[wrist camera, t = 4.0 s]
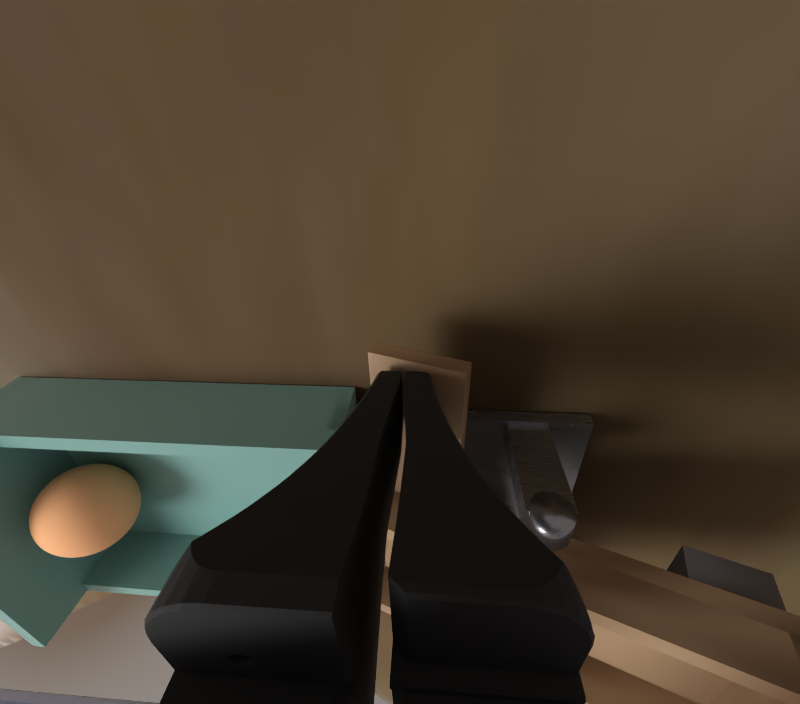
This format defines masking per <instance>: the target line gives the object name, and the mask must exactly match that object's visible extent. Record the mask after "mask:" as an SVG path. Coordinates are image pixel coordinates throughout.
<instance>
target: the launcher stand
mask: <svg viewBox="0 0 800 704" xmlns="http://www.w3.org/2000/svg"><path fill="white" fill-rule="evenodd" d="M593 426H594V423H593V421H592V419H591V417H590V415H589V414H573V413H544V412H516V411H487V410H468V413H467V424H466V435H465V447H464V451H465V452H466V454H467V455H468V457H469V458H470V460H471V461H472V463H473V464H474V465H475V467H476V468H477V470H478V471H479V472H480V474H481V475H482V476H483V478H484V479H485V480H486V482H487V483H488V484H489V485H490V486H491V488H492V489H493V490H494V491H495V492H496V493H497V495H498V496H499V497H500V498H501V499H502V500H503V502H504V503H505V504H506V505H507V506H508V508H509V509H510V510H511V511H512V512H513V513H514V514H515V515H516V516H517V517H518V518H519V519H520V520H521V521H522V523H523V524H524V525H525V526H526V527H527V528H528V529H529V530H530V531H531V532H532V533H533V534H534V535H535V536H536V537H537V538H538V539H539V540H540V541H541V542H543V543H544V544H545V545H546V546H547V547H548V548H549V549H550V550H561V549H563V548H565V547H566V546H567V545H568V544H569V542H570V539H571V536H572V534H573V531H574V528H575V525H576V522H577V518H578V515H579V512H578V509H577V506H576V503H575V501H574V498H573V495H572V490H573V487H574V484H575V481H576V478H577V475H578V472H579V469H580V466H581V463H582V460H583V457H584V454H585V451H586V447H587V444H588V441H589V438H590V435H591V432H592V429H593Z"/></svg>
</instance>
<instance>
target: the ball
mask: <svg viewBox="0 0 800 704" xmlns="http://www.w3.org/2000/svg"><path fill="white" fill-rule="evenodd" d="M140 507H141V492H140V488H139V486H138V484H137V482H136V480H135V479H134V478H133V477H132V476H131V475H130V474H129V473H128V472H127V471H125V470H123V469H121V468H119V467H117V466H114V465H109V464H88V465H83V466H79V467H76V468H73V469H71V470H68V471H66V472H64V473H62V474H61V475H59V476H57V477H56V478H55V479H53V480H52V481H51V482H49V483H48V484H47V485H46V486H45V487H44V488H43V489H42V491H41V492H40V493H39V494H38V496H37V498H36V499H35V501H34V503H33V505H32V508H31V510H30V515H29V529H30V533H31V536H32V538H33V539H34V541H35V543H36V544H37V545H38V546H39V547H40V548H41V549H43V550H44V551H46V552H48V553H50V554H53V555H56V556H60V557H67V558H76V557H84V556H88V555H92V554H95V553H97V552H100V551H102V550H104V549H106V548H108V547H110V546H111V545H113V544H114V543H116V542H117V541H118V540H120V539H121V538H122V537H123V536H124V535H125V534H126V533H127V532H128V531H129V529H130V528H131V527H132V525H133V524H134V522H135V520H136V518H137V516H138V514H139V511H140Z"/></svg>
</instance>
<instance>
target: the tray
mask: <svg viewBox="0 0 800 704" xmlns="http://www.w3.org/2000/svg"><path fill="white" fill-rule="evenodd" d="M356 406H357V402H356V393H355V387H335V386H302V385H269V384H236V383H203V382H170V381H136V380H103V379H70V378H37V377H18V378H17V379H15V380H14V381H12V382H10V383H9V384H7V385H6V386H4V387H2V388H1V389H0V619H1V620H2V621H4V622H5V623H6V624H7V625H8V626H10V627H11V628H12V629H13V630H15V631H16V632H17V633H18V634H20V635H21V636H22V637H23V638H24V639H26V640H27V641H28V642H29V643H31V644H32V645H33V646H41V647H46V645H47V644H48V642H49V641H50V640H51V638H52V637H53V636H54V634H55V633H56V632H57V630H58V629H59V627H60V626H61V625H62V623H63V622H64V621H65V619H66V618H67V617H68V615H69V614H70V613H71V611H72V610H73V609H74V607H75V606H76V604H77V603H78V602H79V600H80V599H81V598H82V596H83V595H84V594H85V592H86V591H87V590H89V591H101V592H113V593H126V594H138V595H150V596H158V595H159V593H160V592H161V590H162V588H163V586H164V584H165V583H166V581H167V579H168V577H169V576H170V574H171V572H172V571H173V569H174V567H175V566H176V564H177V562H178V561H179V559H180V558H181V556H182V555H183V554H184V552H185V551H186V549H187V548H188V546H189V545H190V543H191V542H192V541H193V540H195V539H196V538H198V537H200V536H202V535H203V534H205V533H207V532H208V531H210V530H212V529H213V528H215V527H217V526H218V525H220V524H221V523H223V522H225V521H226V520H228V519H230V518H231V517H233V516H235V515H236V514H238V513H239V512H241V511H242V510H244V509H245V508H247V507H248V506H250V505H251V504H253V503H254V502H255V501H257V500H258V499H259V498H261V497H262V496H264V495H265V494H266V493H268V492H269V491H270V490H272V489H273V488H274V487H276V486H277V485H278V484H280V483H281V482H282V481H283V480H285V479H286V478H287V477H288V476H290V475H291V474H292V473H293V472H294V471H295V470H296V469H298V468H299V467H300V466H301V465H302V464H303V463H305V462H306V461H307V460H308V459H309V458H310V457H311V456H312V455H313V454H314V453H315V452H316V451H317V450H318V449H319V448H320V447H321V446H322V445H323V444H324V443H325V442H326V441H327V440H328V439H329V438H330V437H331V436H332V435H333V434H334V432H335V431H336V430H337V429H338V428H339V427H340V426H341V424H342V423H343V422H344V421H345V420H346V419H347V417H348V416H349V415H350V414H351V412H352V411H353V410H354V408H355V407H356ZM88 464H109V465H114V466H117V467H119V468H121V469H123V470H125V471H127V472H128V473H129V474H130V475H131V476H132V477H133V478H134V479H135V480H136V482H137V484H138V486H139V488H140V492H141V507H140V511H139V514H138V516H137V518H136V520H135V522H134V524H133V525H132V527H131V528H130V529H129V531H128V532H127V533H126V534H125V535H124V536H123V537H122V538H121V539H120V540H118V541H117V542H116V543H114V544H113V545H111V546H110V547H108V548H106V549H104V550H102V551H100V552H97V553H95V554H92V555H88V556H84V557H76V558H67V557H60V556H56V555H53V554H50V553H48V552H46V551H44V550H43V549H41V548H40V547H39V546H38V545H37V544H36V543H35V541H34V539H33V538H32V536H31V533H30V529H29V515H30V510H31V508H32V505H33V503H34V501H35V499H36V498H37V496H38V494H39V493H40V492H41V491H42V489H43V488H44V487H45V486H46V485H47V484H48V483H49V482H51V481H52V480H53V479H55V478H56V477H57V476H59V475H61V474H62V473H64V472H66V471H68V470H71V469H73V468H76V467H79V466H83V465H88Z"/></svg>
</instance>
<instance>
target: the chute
mask: <svg viewBox="0 0 800 704" xmlns="http://www.w3.org/2000/svg"><path fill="white" fill-rule="evenodd" d="M368 360H369V372H370V384H372V383H373V381H374V379H375V378H376V376H377V374H378V373H379V372H380V371H402V397H403V435H402V450H401V457H400V463H399V469H398V474H397V480H396V485H395V491H394V496H393V502H392V507H391V513H390V518H389V525H388V532H387V540H386V551H385V560H386V567H385V569H384V575H383V587H382V599H381V610H382V611H384V612H386V613H388V614H390V615H391V608H390V596H389V584H388V570H389V564H390V558H391V552H392V545H393V539H394V533H395V526H396V519H397V512H398V504H399V497H400V490H401V481H402V473H403V465H404V456H405V447H406V433H405V396H404V383H405V377H406V372H407V371H418V372H426V373H428V374H429V375H430V376H431V380H432V384H433V388H434V391H435V394H436V396H437V399H438V401H439V404H440V406H441V408H442V411H443V413H444V415H445V417H446V419H447V421H448V423H449V425H450V427H451V429H452V431H453V432H454V434H455V436H456V438H457V439H458V441H459V443H460V444H461V446H462V448H463V449H464V447H465V435H466V424H467V413H468V401H469V390H470V378H471V367H472V362H468V361H463V360H458V359H454V358H449V357H444V356H439V355H435V354H430V353H425V352H420V351H415V350H411V349H406V348H401V347H396V346H391V345H387V344H382V343H376V344H375V345H374V346H373V347H372V348H371V349H370V350H369V351H368ZM551 551H552V552H553V553H554V554H555V555H556V556H558V557H559V558H560V559H561V560H562V561H563V562H564V563H565V565H566V566H567V568H568V570H569V572H570V574H571V576H572V578H573V580H574V582H575V584H576V586H577V589H578V591H579V593H580V595H581V597H582V600H583V602H584V605H585V607H586V609H587V612H588V614H589V617H590V620H591V624H592V628H593V632H594V635H595V639H594V644H593V647H592V649H591V651H590V652H589V654H588V656H587V658H586V660H585V661H584V663H583V665H582V667H581V668H580V670H579V673H580V676H581V680H582V684H583V688H584V692H585V696H586V703H585V704H800V616H797V615H794V614H792V613H789V612H786V609H785V606H784V604H783V601H782V598H781V595H780V593H779V590H778V587H777V585H776V582H775V579H774V576H773V574H770V573H767V572H764V571H761V570H758V569H754V568H751V567H748V566H745V565H742V564H739V563H736V562H733V561H729V560H726V559H723V558H720V557H717V556H714V555H711V554H708V553H705V552H701V551H698V550H695V549H692V548H689V547H686V546H682V547H681V549H680V550H679V552H678V553H677V555H676V557H675V558H674V560H673V561H672V563H671V564H670V566H669V568H668V569H667V570H664V569H661V568H658V567H655V566H652V565H649V564H646V563H644V562H641V561H638V560H635V559H632V558H629V557H626V556H623V555H620V554H617V553H615V552H612V551H609V550H606V549H603V548H600V547H597V546H594V545H591V544H588V543H585V542H583V541H580V540H577V539H574V538H571V539H570V542H569V544H568V545H567V546H566V547H565V548H563V549H561V550H551Z"/></svg>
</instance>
